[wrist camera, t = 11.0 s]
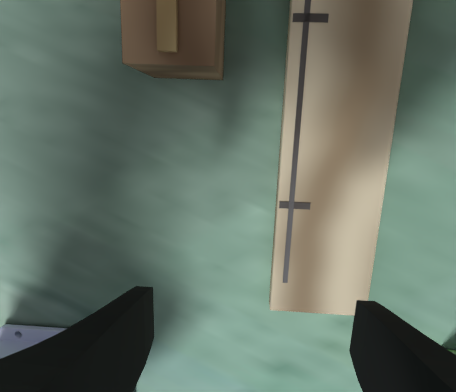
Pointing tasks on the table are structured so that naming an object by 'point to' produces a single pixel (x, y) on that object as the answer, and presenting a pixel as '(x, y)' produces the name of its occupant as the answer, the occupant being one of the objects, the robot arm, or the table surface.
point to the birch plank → (335, 149)
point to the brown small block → (174, 37)
